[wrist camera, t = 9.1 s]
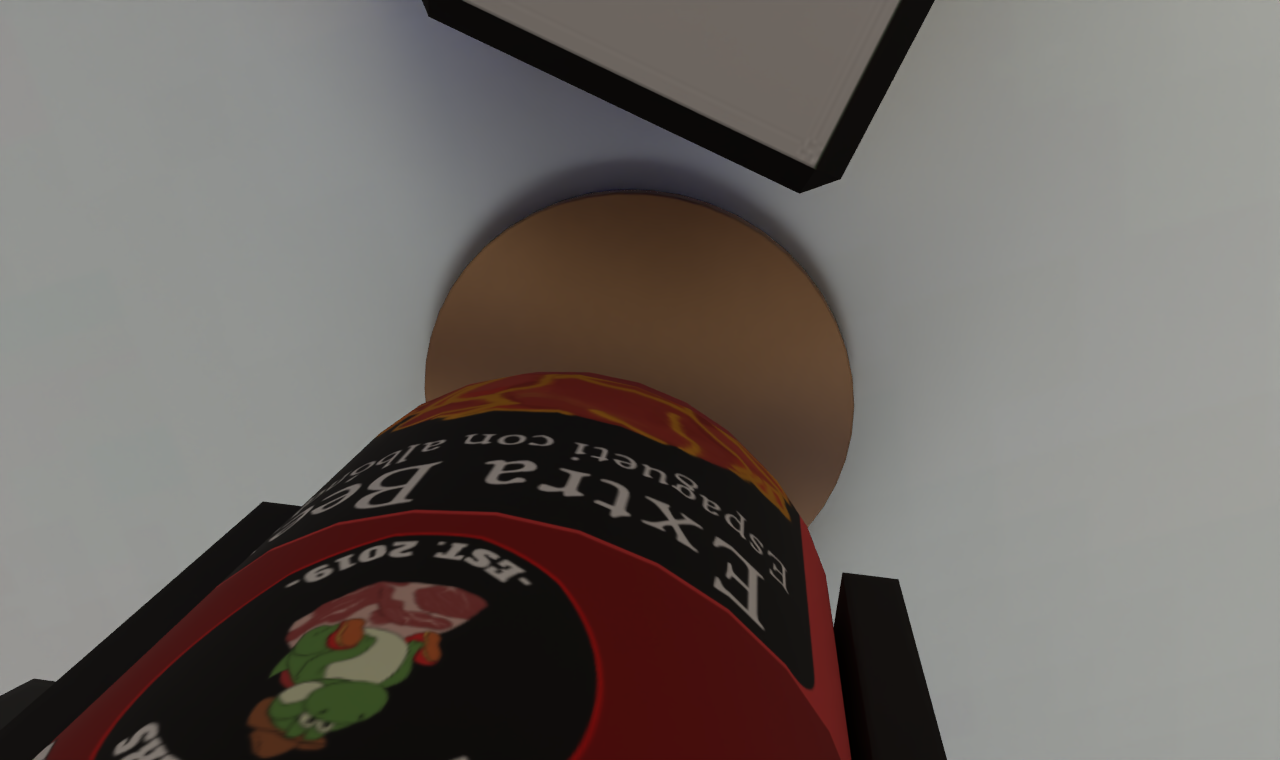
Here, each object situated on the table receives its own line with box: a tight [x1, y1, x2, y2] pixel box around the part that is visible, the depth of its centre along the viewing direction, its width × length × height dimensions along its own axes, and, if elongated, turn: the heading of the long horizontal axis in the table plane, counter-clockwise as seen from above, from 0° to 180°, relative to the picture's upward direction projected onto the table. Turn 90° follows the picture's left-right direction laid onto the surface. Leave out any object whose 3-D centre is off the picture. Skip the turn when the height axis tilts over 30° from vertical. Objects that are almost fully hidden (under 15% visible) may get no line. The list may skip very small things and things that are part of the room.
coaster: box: [425, 190, 854, 528], centre depth 21 cm, size 10×10×1 cm
